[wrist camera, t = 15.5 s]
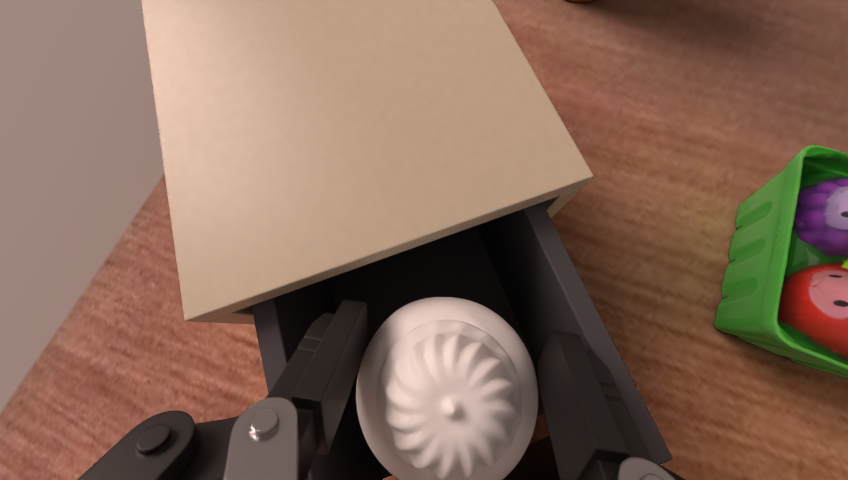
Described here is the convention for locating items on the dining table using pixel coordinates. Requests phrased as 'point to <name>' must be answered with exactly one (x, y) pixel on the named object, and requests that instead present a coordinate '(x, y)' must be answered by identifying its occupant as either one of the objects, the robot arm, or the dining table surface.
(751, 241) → the fruit basket
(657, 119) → the dining table surface
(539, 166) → the cabinet
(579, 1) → the disposable coffee cup
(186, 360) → the dining table surface
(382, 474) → the pulled-out nightstand drawer
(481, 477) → the muffin
